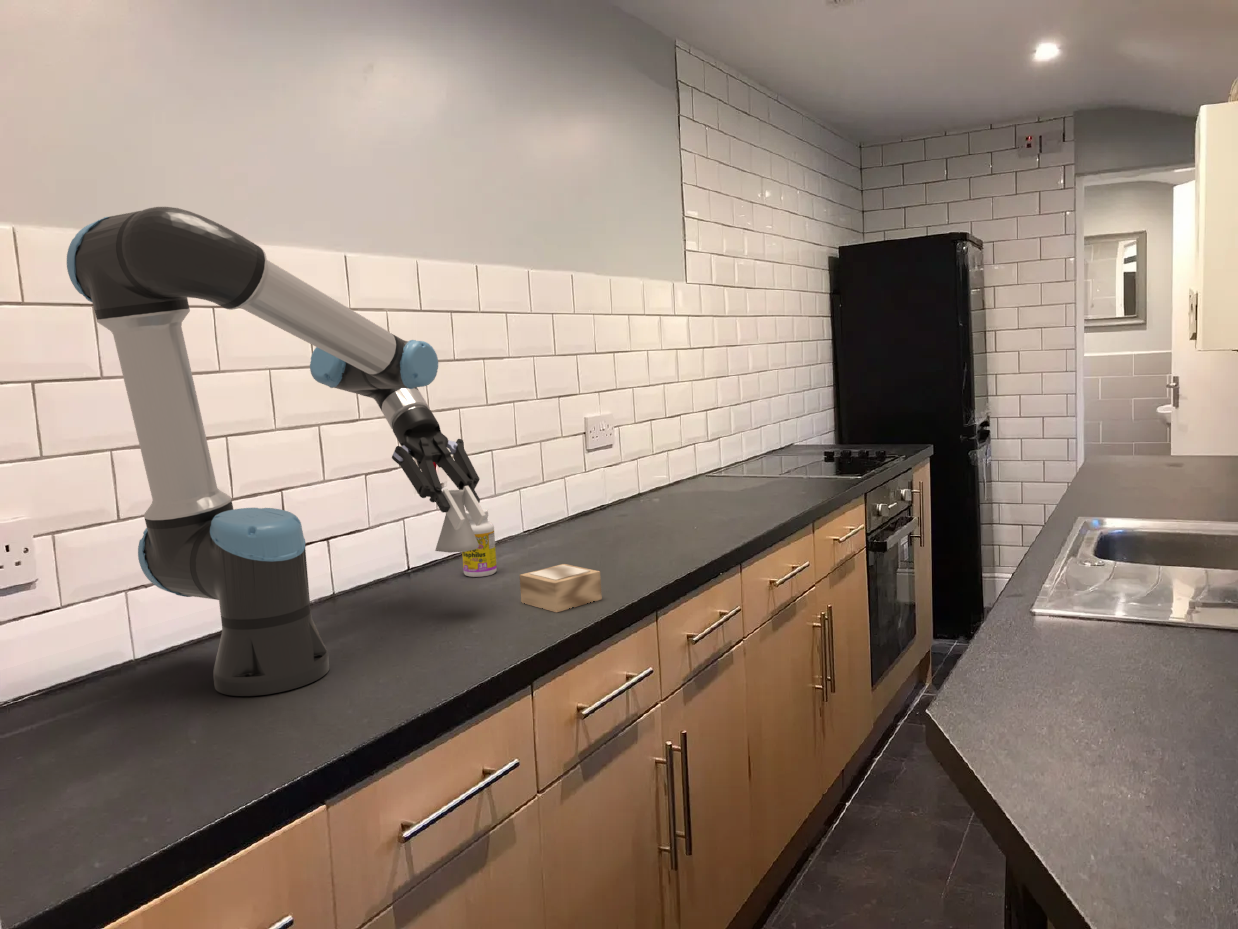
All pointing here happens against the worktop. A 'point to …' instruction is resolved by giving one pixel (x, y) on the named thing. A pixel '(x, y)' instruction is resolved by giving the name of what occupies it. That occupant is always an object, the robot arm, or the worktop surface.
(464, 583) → the worktop surface
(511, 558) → the worktop surface
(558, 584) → the oak plinth
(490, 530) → the supplement bottle
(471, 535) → the flask
